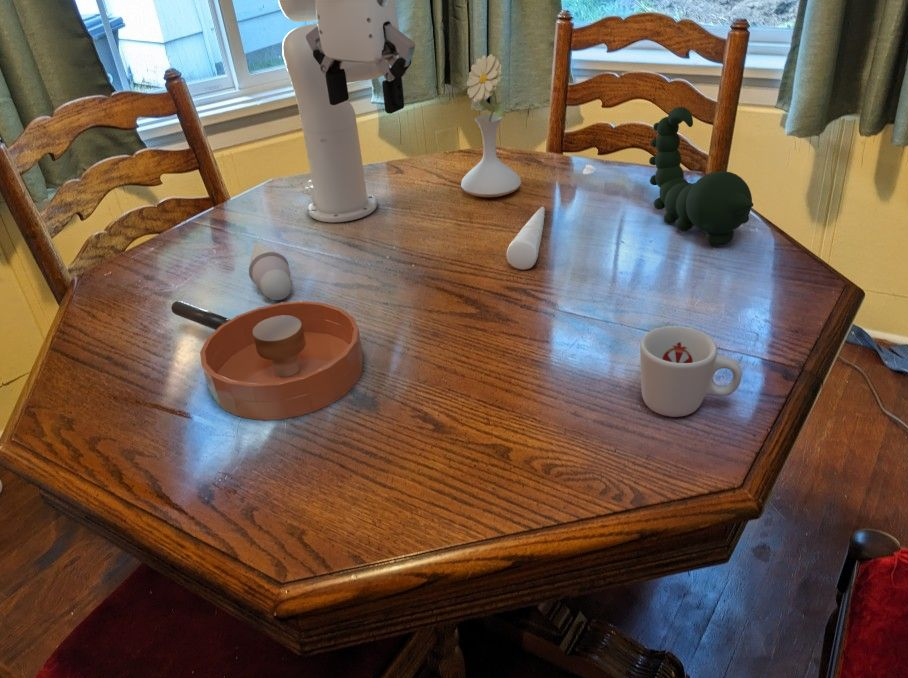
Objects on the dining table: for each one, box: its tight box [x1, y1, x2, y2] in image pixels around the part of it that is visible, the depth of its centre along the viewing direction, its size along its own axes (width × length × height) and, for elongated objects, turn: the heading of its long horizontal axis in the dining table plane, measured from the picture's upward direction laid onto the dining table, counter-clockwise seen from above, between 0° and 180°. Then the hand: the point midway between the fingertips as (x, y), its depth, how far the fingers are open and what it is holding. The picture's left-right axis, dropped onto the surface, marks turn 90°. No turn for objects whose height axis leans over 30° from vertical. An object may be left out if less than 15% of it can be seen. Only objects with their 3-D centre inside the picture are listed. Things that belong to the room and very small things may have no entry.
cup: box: [639, 325, 742, 418], centre depth 80 cm, size 11×8×8 cm
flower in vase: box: [460, 53, 522, 198], centre depth 131 cm, size 13×11×25 cm
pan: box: [199, 300, 364, 421], centre depth 92 cm, size 19×19×5 cm
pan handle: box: [170, 300, 232, 331], centre depth 98 cm, size 12×2×2 cm, turn 55°
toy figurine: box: [648, 106, 754, 247], centre depth 114 cm, size 9×19×25 cm
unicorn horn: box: [506, 205, 546, 271], centre depth 119 cm, size 5×24×5 cm, turn 163°
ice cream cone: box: [248, 240, 293, 301], centre depth 111 cm, size 6×6×15 cm
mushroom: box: [252, 316, 306, 377], centre depth 91 cm, size 6×6×6 cm
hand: (366, 106), depth 97 cm, fingers open, 9 cm apart
